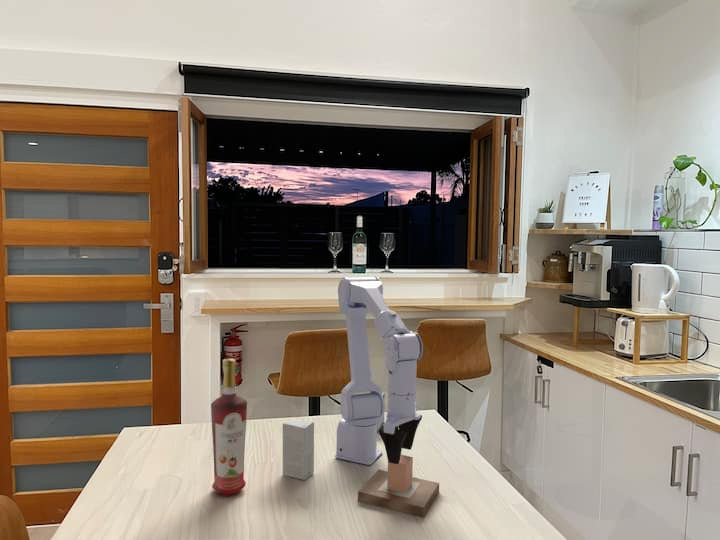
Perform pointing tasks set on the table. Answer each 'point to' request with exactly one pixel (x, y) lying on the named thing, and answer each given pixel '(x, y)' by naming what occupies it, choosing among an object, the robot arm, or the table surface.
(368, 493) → the base board
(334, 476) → the table surface
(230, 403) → the liquor
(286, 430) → the skincare box
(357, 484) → the table surface
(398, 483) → the terracotta block
